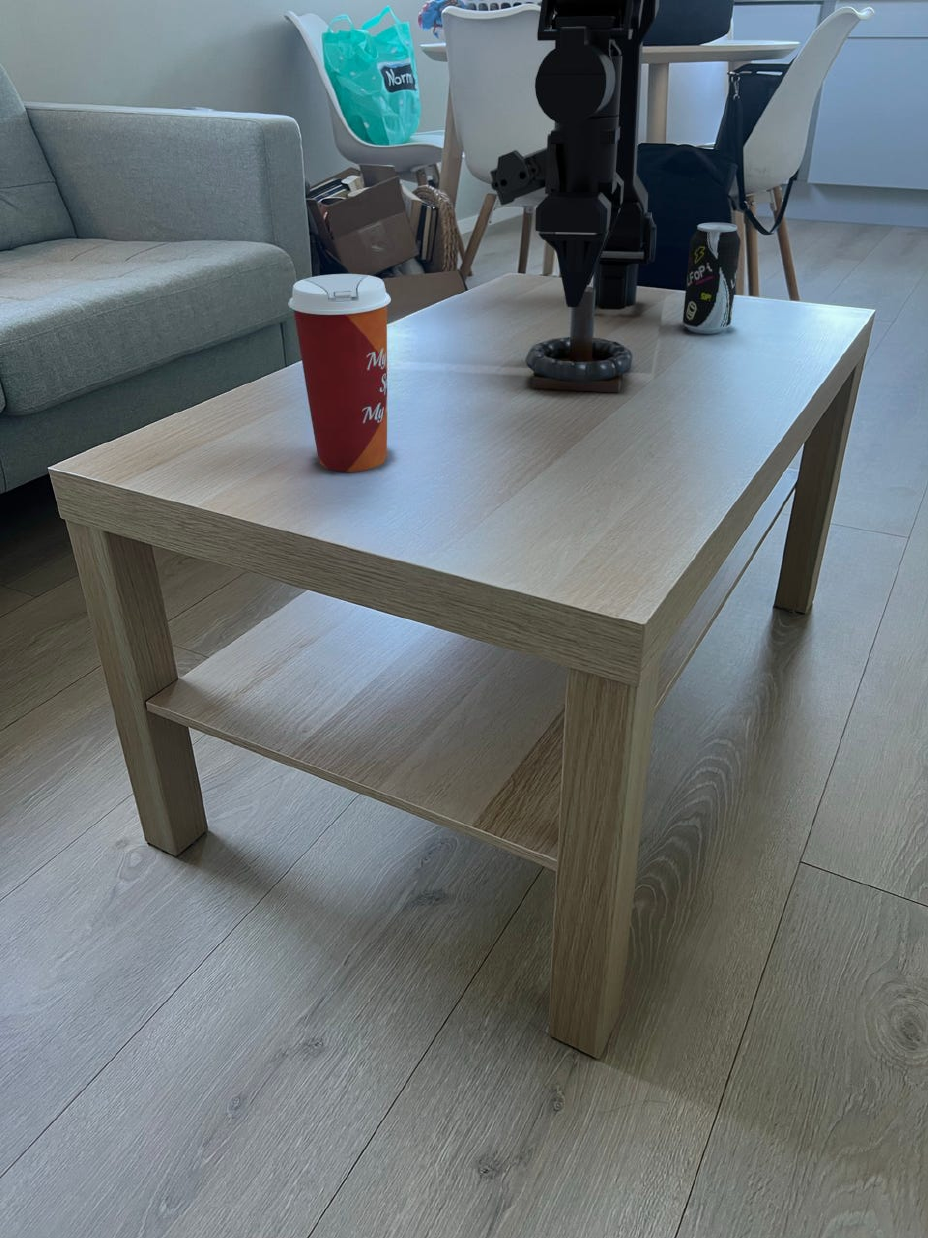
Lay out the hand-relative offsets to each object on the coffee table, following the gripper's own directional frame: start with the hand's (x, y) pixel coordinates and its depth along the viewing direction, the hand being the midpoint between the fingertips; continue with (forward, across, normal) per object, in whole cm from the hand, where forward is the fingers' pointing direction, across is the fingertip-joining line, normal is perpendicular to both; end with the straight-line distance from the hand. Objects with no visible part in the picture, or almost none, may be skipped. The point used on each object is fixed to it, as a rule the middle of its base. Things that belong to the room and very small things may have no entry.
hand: (578, 295), depth 94 cm
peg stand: (+10, -5, 0) cm, 11 cm away
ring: (+7, -4, 0) cm, 8 cm away
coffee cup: (+10, +21, -17) cm, 29 cm away
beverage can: (+10, -26, +13) cm, 30 cm away
